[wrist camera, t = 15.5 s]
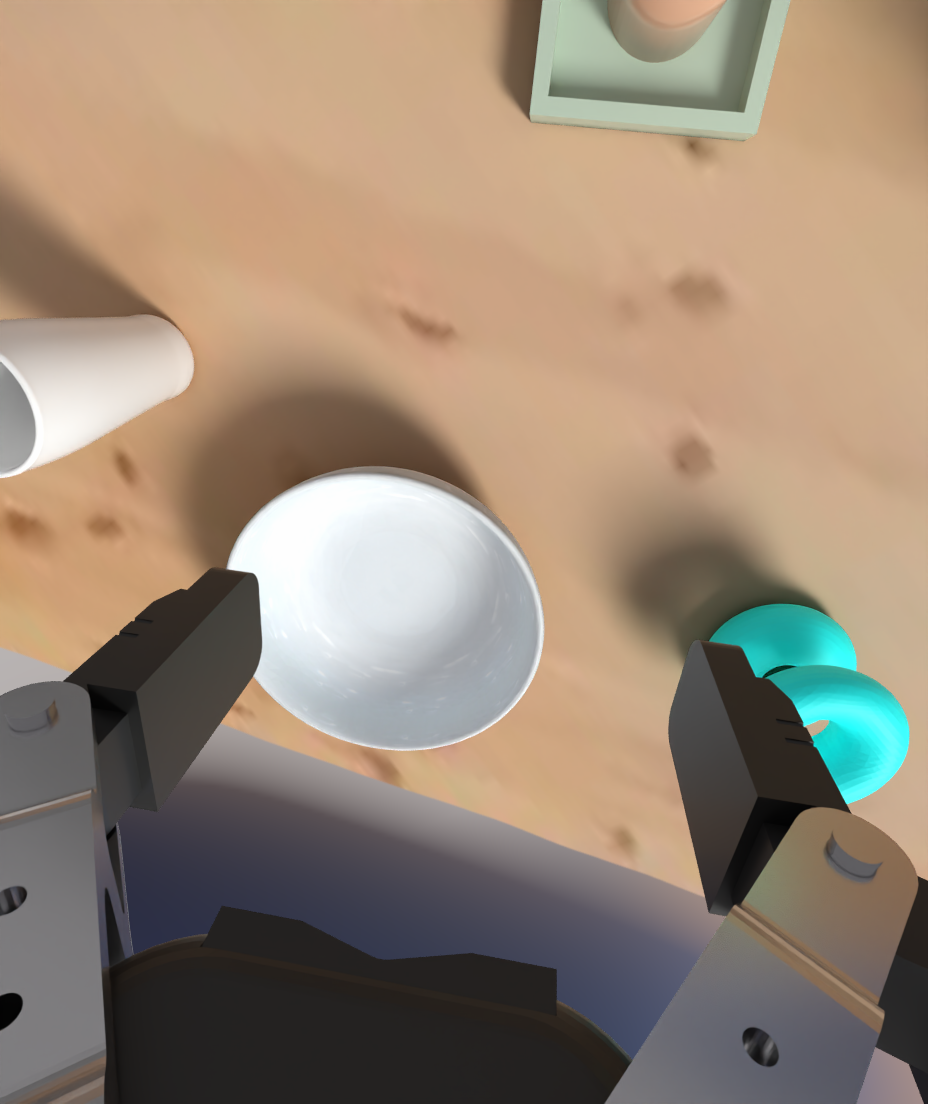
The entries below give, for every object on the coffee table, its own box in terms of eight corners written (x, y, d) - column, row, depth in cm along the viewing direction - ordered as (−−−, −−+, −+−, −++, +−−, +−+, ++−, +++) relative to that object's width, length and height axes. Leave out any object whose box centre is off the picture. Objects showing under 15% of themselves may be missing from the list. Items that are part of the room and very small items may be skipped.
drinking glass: (89, 329, 41) (-136, 368, 28) (168, 281, 39) (-34, 299, 26) (151, 423, 43) (-29, 501, 30) (228, 382, 41) (72, 447, 28)
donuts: (696, 742, 37) (860, 656, 33) (668, 646, 46) (795, 569, 42) (790, 842, 39) (953, 771, 35) (746, 731, 48) (873, 666, 44)
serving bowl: (441, 733, 52) (426, 798, 46) (222, 595, 49) (174, 645, 43) (606, 557, 43) (615, 608, 37) (352, 376, 40) (316, 399, 34)
